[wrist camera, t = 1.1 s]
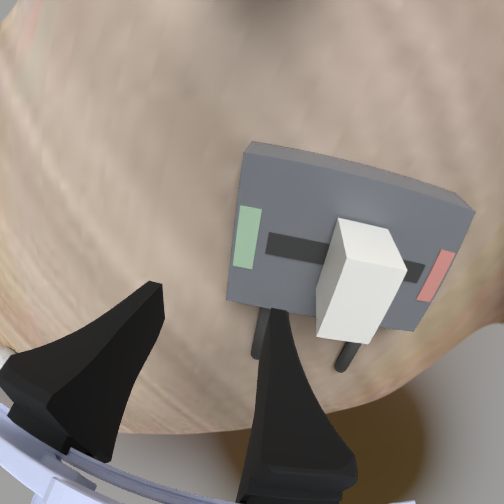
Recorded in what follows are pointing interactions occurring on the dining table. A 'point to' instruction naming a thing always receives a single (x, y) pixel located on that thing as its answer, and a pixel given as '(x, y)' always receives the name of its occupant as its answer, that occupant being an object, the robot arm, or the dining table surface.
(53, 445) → the robot arm
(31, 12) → the dining table surface
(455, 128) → the dining table surface
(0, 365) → the white oval body
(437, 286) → the breaker block
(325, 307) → the breaker handle
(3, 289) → the dining table surface
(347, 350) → the dressed cords
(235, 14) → the dining table surface
